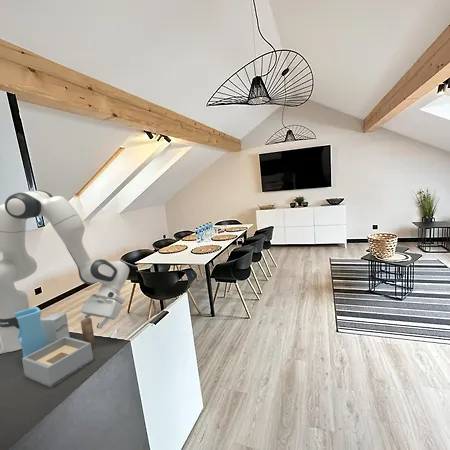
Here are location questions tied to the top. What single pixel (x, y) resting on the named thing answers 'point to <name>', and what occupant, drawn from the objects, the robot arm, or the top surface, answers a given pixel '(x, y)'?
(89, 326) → the peg
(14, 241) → the robot arm
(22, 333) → the blue curved piece
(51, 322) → the supplement box
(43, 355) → the bore box
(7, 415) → the top surface
